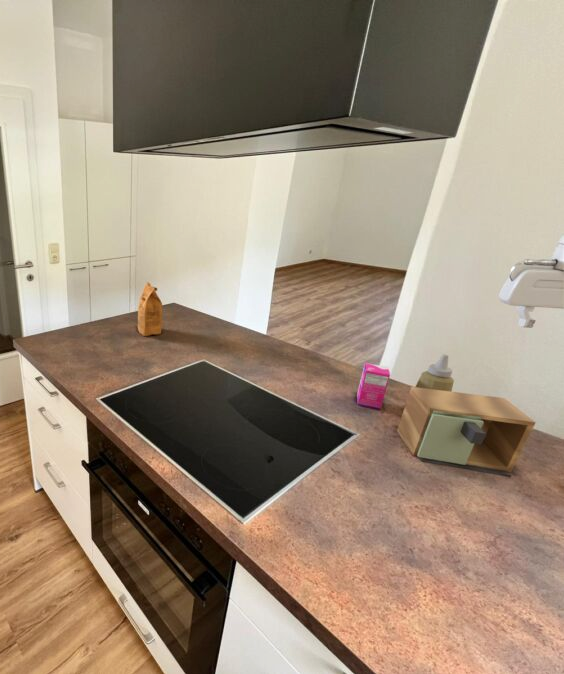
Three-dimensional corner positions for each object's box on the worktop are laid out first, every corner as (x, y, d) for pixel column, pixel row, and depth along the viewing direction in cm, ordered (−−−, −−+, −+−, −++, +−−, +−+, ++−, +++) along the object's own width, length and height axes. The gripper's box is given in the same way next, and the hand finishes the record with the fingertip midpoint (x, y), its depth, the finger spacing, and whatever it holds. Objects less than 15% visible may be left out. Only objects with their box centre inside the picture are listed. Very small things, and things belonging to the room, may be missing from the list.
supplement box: (355, 396, 109) (364, 362, 105) (379, 401, 106) (389, 366, 102) (356, 405, 104) (365, 369, 100) (380, 410, 101) (391, 374, 97)
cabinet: (483, 444, 87) (504, 398, 83) (516, 477, 77) (542, 427, 72) (396, 430, 93) (411, 386, 88) (416, 460, 82) (434, 412, 78)
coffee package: (155, 326, 169) (157, 280, 161) (163, 336, 158) (165, 287, 150) (135, 328, 168) (135, 281, 160) (141, 337, 156) (142, 288, 148)
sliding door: (463, 463, 80) (482, 420, 76) (475, 477, 76) (495, 433, 72) (416, 455, 83) (432, 413, 79) (425, 468, 79) (442, 425, 75)
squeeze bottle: (398, 409, 102) (417, 351, 95) (419, 404, 104) (439, 347, 98) (429, 425, 95) (452, 363, 88) (450, 419, 97) (474, 359, 90)
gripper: (527, 261, 68) (499, 329, 73) (679, 266, 62) (637, 339, 67) (505, 256, 74) (481, 319, 79) (643, 260, 68) (607, 328, 73)
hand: (554, 329), depth 73 cm, fingers open, 8 cm apart
